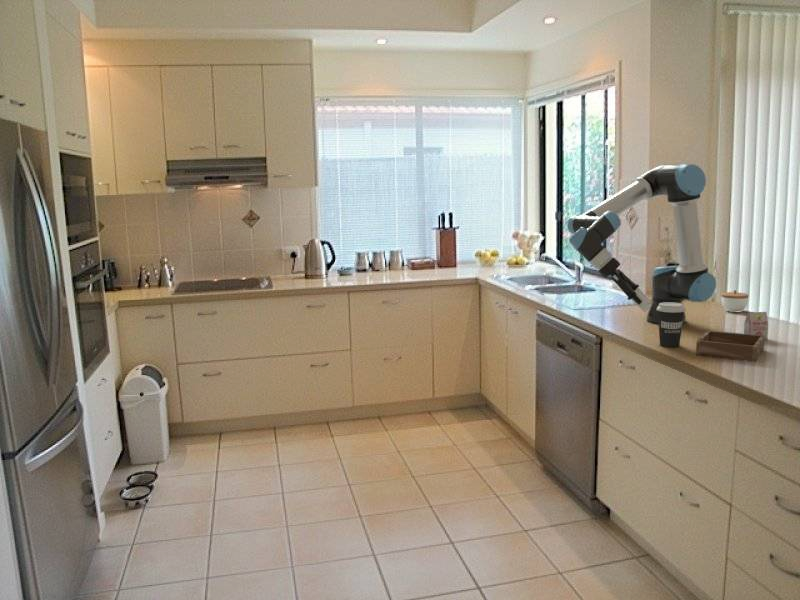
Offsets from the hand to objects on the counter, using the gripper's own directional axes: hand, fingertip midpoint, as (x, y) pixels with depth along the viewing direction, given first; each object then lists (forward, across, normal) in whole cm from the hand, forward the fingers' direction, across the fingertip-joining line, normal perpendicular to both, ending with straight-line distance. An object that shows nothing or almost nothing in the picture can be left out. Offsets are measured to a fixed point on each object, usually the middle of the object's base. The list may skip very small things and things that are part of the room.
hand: (648, 306), depth 246 cm
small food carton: (+36, -19, +16) cm, 44 cm away
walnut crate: (+29, +5, +9) cm, 31 cm away
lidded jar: (+35, -74, +15) cm, 83 cm away
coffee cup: (+16, -1, -5) cm, 16 cm away
